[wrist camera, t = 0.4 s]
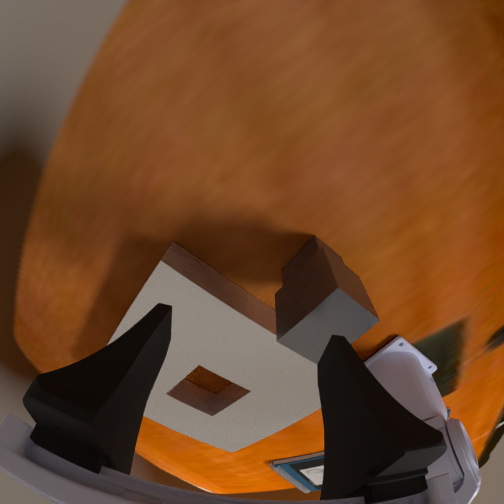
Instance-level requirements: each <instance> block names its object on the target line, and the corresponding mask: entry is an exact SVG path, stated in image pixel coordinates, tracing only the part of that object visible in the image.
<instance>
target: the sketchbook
mask: <svg viewBox="0 0 504 504" xmlns="http://www.w3.org/2000/svg"><path fill="white" fill-rule="evenodd" d="M446 409H447V421H448V417H449V414H450V408H449V407H448V408H446ZM272 464H273V466H272ZM274 466H275V467H274ZM270 468H271V469H272V470H274V471H275V472H276V473H278V474H279V475H280V476H282V477H283V478H285V479H286V480H287V481H289V482H290V483H291V484H293V485H294V486H296V487H297V488H298V489H300V490H301V491H303V492H304V493H308V492H311V491H316V490H322V482H323V470H324V451H323V452H319V453H314V454H309V455H304V456H299V457H293V458H287V459H281V460H274V461H273V463H272V462H271V463H270ZM277 470H278V471H277ZM282 474H283V475H282ZM285 475H286V476H285Z"/></svg>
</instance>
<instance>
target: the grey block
mask: <svg viewBox="0 0 504 504" xmlns="http://www.w3.org/2000/svg"><path fill="white" fill-rule="evenodd" d="M281 270H282V281H283V286H282V287H281V288H280V289H279V290H278V291H277V292H276V293H275V310H276V340H277V342H278V343H280V344H282V345H283V346H285V347H287V348H289V349H290V350H292V351H294V352H296V353H297V354H299V355H301V356H303V357H304V358H306V359H308V360H310V361H312V362H313V363H315V364H318V362H319V360H320V358H321V356H322V354H323V352H324V350H325V348H326V346H327V344H328V342H329V340H330V338H331V336H332V335H339V336H344V337H345V338H346V339H347V340H348V342H349V343H350V344H352V343H353V342H354V341H355V340H357V339H358V338H359V337H360V336H362V335H363V334H364V333H365V332H366V331H368V330H369V329H370V328H371V327H372V326H374V325H375V324H376V323H377V322H378V321H380V320H379V318H378V315H377V313H376V311H375V309H374V307H373V305H372V302H371V300H370V298H369V296H368V294H367V292H366V290H365V288H364V286H363V284H362V282H361V280H360V278H359V276H358V275H356V274H355V273H354V272H353V271H352V270H351V269H349V268H348V267H347V266H346V265H345V264H344V262H343V260H342V258H341V257H340V256H339V255H338V254H337V253H336V252H334V251H333V250H332V249H331V248H330V247H328V246H327V245H326V244H325V243H324V242H322V241H321V240H320V239H319V238H318V237H316V236H315V235H314V236H313V237H312V238H311V239H310V240H309V241H308V242H307V243H306V244H305V246H304V247H303V248H302V249H301V250H300V251H299V252H298V253H297V254H296V255H295V256H294V257H293V258H292V259H291V260H290V261H289V262H288V263H287V264H286V265H285V266H284V267H283V268H282V269H281Z"/></svg>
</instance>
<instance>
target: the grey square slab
mask: <svg viewBox="0 0 504 504" xmlns="http://www.w3.org/2000/svg"><path fill="white" fill-rule="evenodd" d="M158 303H162V304H167V305H171V306H172V327H171V341H170V344H169V348H168V351H167V355H166V358H165V360H164V363H163V365H162V367H161V370H160V372H159V374H158V377H157V379H156V381H155V384H154V386H153V388H152V391H151V393H150V395H149V398H148V401H147V404H146V407H145V411H144V414H143V416H145V417H147V418H149V419H151V420H154V421H156V422H158V423H160V424H162V425H164V426H166V427H168V428H171V429H173V430H175V431H177V432H180V433H182V434H184V435H187V436H189V437H192V438H194V439H197V440H199V441H202V442H204V443H207V444H210V445H212V446H215V447H218V448H221V449H223V450H226V451H229V452H234V451H237V450H239V449H241V448H244V447H246V446H248V445H250V444H253V443H255V442H257V441H259V440H261V439H263V438H266V437H268V436H270V435H272V434H274V433H276V432H278V431H280V430H282V429H284V428H286V427H287V426H289V425H291V424H293V423H295V422H297V421H299V420H301V419H302V418H304V417H306V416H308V415H309V414H311V413H313V412H315V411H316V410H318V409H320V408H321V403H320V396H319V389H318V379H317V364H315V363H313V362H312V361H310V360H308V359H306V358H304V357H303V356H301V355H299V354H297V353H296V352H294V351H292V350H290V349H289V348H287V347H285V346H283V345H282V344H280V343H278V342H277V340H276V310H274V309H272V308H271V307H269V306H268V305H266V304H265V303H263V302H262V301H260V300H259V299H257V298H256V297H254V296H253V295H251V294H250V293H248V292H247V291H245V290H244V289H242V288H241V287H239V286H238V285H236V284H235V283H233V282H232V281H230V280H229V279H227V278H226V277H224V276H223V275H221V274H220V273H219V272H217V271H216V270H214V269H213V268H211V267H210V266H208V265H207V264H205V263H204V262H203V261H201V260H200V259H198V258H197V257H195V256H194V255H192V254H191V253H190V252H188V251H187V250H185V249H184V248H182V247H181V246H180V245H178V244H177V243H175V242H174V241H173V242H172V244H171V245H170V247H169V248H168V249H167V251H166V252H165V254H164V255H163V257H162V258H161V260H160V261H159V263H158V264H157V266H156V267H155V269H154V270H153V272H152V273H151V275H150V276H149V278H148V279H147V281H146V282H145V284H144V285H143V287H142V288H141V290H140V292H139V293H138V295H137V296H136V298H135V299H134V301H133V303H132V304H131V306H130V307H129V309H128V310H127V312H126V314H125V315H124V317H123V319H122V320H121V322H120V323H119V325H118V327H117V328H116V330H115V332H114V333H113V335H112V337H111V338H110V340H109V342H108V344H107V345H109V344H110V343H112V342H113V341H114V340H116V339H117V338H118V337H120V336H121V335H122V334H124V333H125V332H126V331H128V330H129V329H130V328H131V327H132V326H134V325H135V324H136V323H137V322H138V321H139V320H141V319H142V318H143V317H144V316H145V315H146V314H147V313H148V312H149V311H150V310H151V309H152V308H153V307H154V306H155V305H157V304H158ZM107 345H106V346H107ZM198 365H200V366H202V367H204V368H206V369H208V370H210V371H212V372H213V373H215V374H217V375H219V376H221V377H223V378H225V379H227V380H229V381H231V382H232V383H231V384H230V385H228V386H227V387H225V388H224V389H223V390H221V391H220V392H219V393H217V394H214V393H212V392H210V391H208V390H206V389H204V388H202V387H200V386H198V385H196V384H194V383H192V382H190V381H188V380H186V379H184V378H185V377H186V376H187V375H188V374H189V373H190V372H192V371H193V370H194V369H195V368H196V367H197V366H198Z"/></svg>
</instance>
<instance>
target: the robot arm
mask: <svg viewBox="0 0 504 504" xmlns="http://www.w3.org/2000/svg"><path fill="white" fill-rule="evenodd" d="M171 327H172V306H171V305H167V304H162V303H158V304H157V305H155V306H154V307H153V308H152V309H151V310H150V311H149V312H148V313H147V314H146V315H145V316H144V317H143V318H142V319H141V320H139V321H138V322H137V323H136V324H135V325H134V326H132V327H131V328H130V329H129V330H128V331H126V332H125V333H124V334H122V335H121V336H120V337H118V338H117V339H116V340H114V341H113V342H112V343H110V344H109V345H107V346H106V347H104V348H102V349H101V350H99V351H97V352H96V353H94V354H92V355H90V356H88V357H86V358H84V359H82V360H80V361H78V362H76V363H73V364H71V365H68V366H66V367H63V368H60V369H57V370H54V371H51V372H47V373H44V374H40V375H38V376H37V377H36V378H35V380H34V381H33V382H32V384H31V385H30V387H29V389H28V390H27V392H26V394H25V396H24V397H23V404H24V406H25V408H26V409H27V411H28V412H29V414H30V415H31V417H32V418H33V419H34V421H35V422H36V423H37V424H36V426H35V427H34V429H33V428H32V427H31V426H29V425H28V424H27V423H25V422H23V421H22V420H20V419H19V418H17V417H15V416H14V415H12V414H11V413H7V414H6V416H5V417H4V419H3V421H2V423H1V425H0V468H1V469H2V470H3V471H5V472H6V473H7V474H9V475H10V476H11V477H13V478H14V479H15V480H17V481H19V482H20V483H22V484H23V485H25V486H26V487H28V488H30V489H31V490H33V491H34V492H36V493H38V494H39V495H41V496H43V497H45V498H47V499H48V500H50V501H52V502H54V503H56V504H163V503H165V504H470V503H471V501H472V500H473V499H474V497H475V496H476V494H477V493H478V491H479V489H480V483H481V474H480V471H479V468H478V462H477V458H476V455H475V452H474V449H473V446H472V444H471V441H470V439H469V436H468V434H467V432H466V430H465V428H464V426H463V424H462V422H461V421H460V420H458V419H454V418H451V419H449V420H448V421H447V409H446V407H445V404H444V402H443V400H442V397H441V395H440V393H439V391H438V388H437V386H436V384H435V382H434V380H433V377H432V375H431V374H432V373H433V372H434V371H436V369H437V367H436V365H435V364H434V363H432V362H431V361H430V360H429V359H428V358H427V357H425V356H424V355H423V354H422V353H421V352H419V351H418V350H417V349H416V348H415V347H413V346H412V345H411V344H410V343H409V342H407V341H406V340H405V339H404V338H402V337H401V336H398V337H396V338H395V339H393V340H392V341H391V342H390V343H388V344H387V345H386V346H385V347H383V348H382V349H381V350H380V351H378V352H377V353H376V354H374V355H373V356H372V357H371V358H369V359H368V360H367V361H365V362H364V363H363V361H362V360H361V358H360V357H359V356H358V354H357V353H356V351H355V350H354V349H353V347H352V346H351V345H350V343H349V342H348V340H347V339H346V338H345V337H344V336H339V335H332V336H331V338H330V340H329V342H328V344H327V346H326V348H325V350H324V352H323V354H322V356H321V358H320V360H319V362H318V364H317V379H318V389H319V396H320V403H321V409H322V416H323V423H324V470H323V482H322V490H321V497H320V500H318V501H271V500H269V501H268V500H253V499H242V498H233V497H224V496H217V495H211V494H204V493H199V492H193V491H188V490H183V489H179V488H174V487H170V486H166V485H161V484H158V483H154V482H150V481H147V480H144V479H140V478H137V477H133V476H131V475H130V471H131V466H132V461H133V456H134V451H135V446H136V442H137V437H138V433H139V429H140V425H141V422H142V418H143V414H144V411H145V407H146V404H147V401H148V398H149V395H150V393H151V391H152V388H153V386H154V384H155V381H156V379H157V377H158V374H159V372H160V370H161V367H162V365H163V363H164V360H165V358H166V355H167V351H168V348H169V344H170V341H171ZM458 483H459V484H458ZM456 484H457V485H456ZM454 485H456V486H454ZM453 486H454V487H453Z"/></svg>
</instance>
